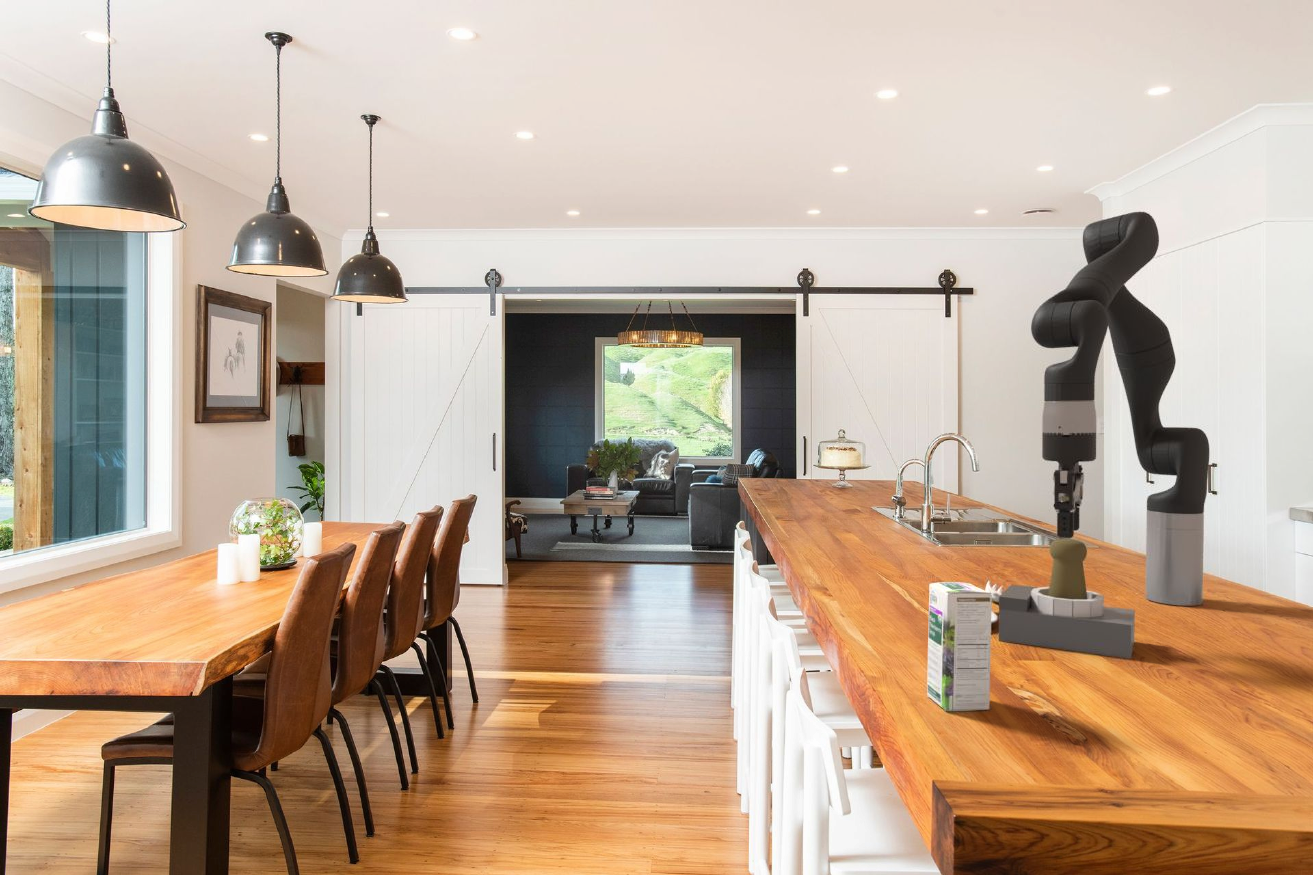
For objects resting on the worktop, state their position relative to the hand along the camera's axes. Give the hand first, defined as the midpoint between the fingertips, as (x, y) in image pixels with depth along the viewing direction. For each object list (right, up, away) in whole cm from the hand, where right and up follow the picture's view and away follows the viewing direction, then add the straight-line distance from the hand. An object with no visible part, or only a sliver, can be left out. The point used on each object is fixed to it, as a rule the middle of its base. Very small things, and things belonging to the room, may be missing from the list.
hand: (1068, 533), depth 127 cm
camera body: (0, -17, +1) cm, 17 cm away
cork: (0, -12, +1) cm, 12 cm away
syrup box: (-27, -18, -27) cm, 42 cm away
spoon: (-5, -17, +19) cm, 26 cm away
